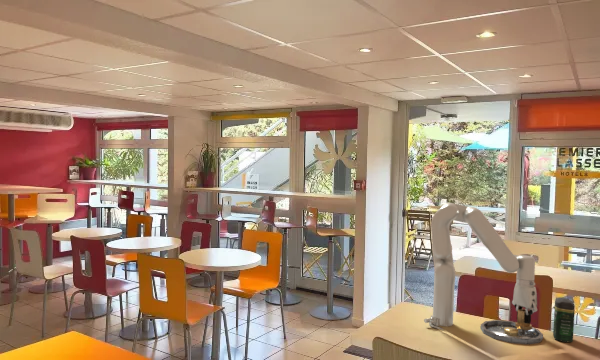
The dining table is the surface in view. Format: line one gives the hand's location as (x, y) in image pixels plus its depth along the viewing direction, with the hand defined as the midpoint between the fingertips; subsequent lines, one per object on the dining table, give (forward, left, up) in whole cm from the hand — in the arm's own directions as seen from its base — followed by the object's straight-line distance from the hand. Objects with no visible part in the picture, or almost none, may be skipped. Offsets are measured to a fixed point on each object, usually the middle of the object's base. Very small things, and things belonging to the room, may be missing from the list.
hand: (523, 320), depth 216 cm
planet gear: (0, 0, -3) cm, 3 cm away
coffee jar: (+15, -9, -7) cm, 19 cm away
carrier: (-7, 0, -7) cm, 10 cm away
